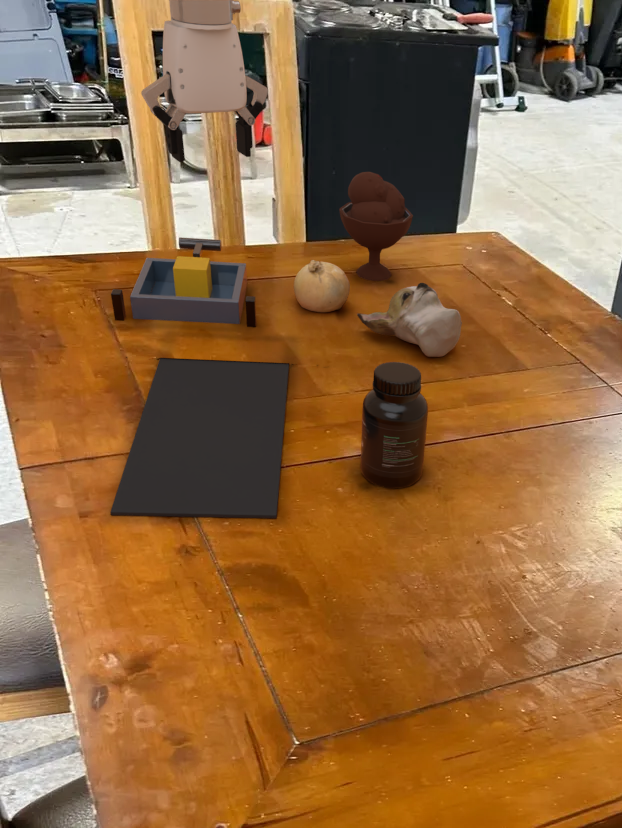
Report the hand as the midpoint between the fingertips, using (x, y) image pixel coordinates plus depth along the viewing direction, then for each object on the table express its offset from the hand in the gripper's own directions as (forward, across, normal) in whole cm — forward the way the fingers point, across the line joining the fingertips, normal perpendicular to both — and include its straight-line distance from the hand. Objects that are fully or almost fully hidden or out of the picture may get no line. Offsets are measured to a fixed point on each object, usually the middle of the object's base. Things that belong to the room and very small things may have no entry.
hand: (211, 156), depth 123 cm
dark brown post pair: (+16, +11, +15) cm, 25 cm away
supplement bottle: (+17, +6, +58) cm, 61 cm away
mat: (+16, +17, +38) cm, 45 cm away
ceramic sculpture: (+17, -15, +32) cm, 39 cm away
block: (+16, +7, +7) cm, 19 cm away
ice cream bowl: (+17, -22, +8) cm, 29 cm away
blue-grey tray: (+17, +7, +6) cm, 19 cm away
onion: (+17, -8, +17) cm, 25 cm away
